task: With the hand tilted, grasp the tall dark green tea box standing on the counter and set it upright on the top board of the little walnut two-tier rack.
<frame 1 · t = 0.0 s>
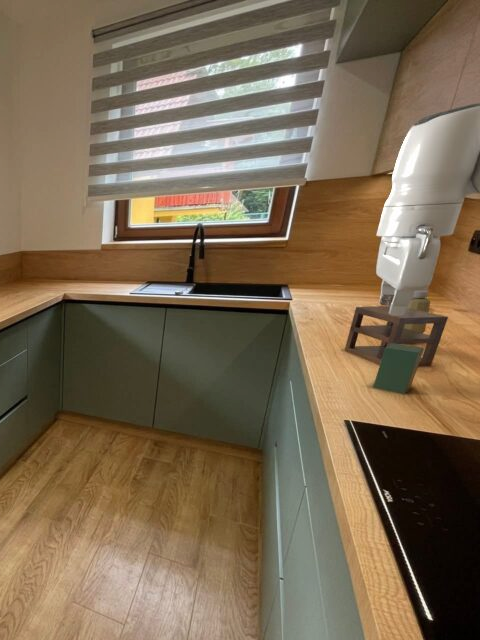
hand: (390, 309, 73), 20 cm above the worktop, tool pointing down, fingers open, 8 cm apart
rack: (384, 357, 110), on the worktop
squeeze bottle: (400, 342, 122), on the worktop
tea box: (391, 387, 92), on the worktop
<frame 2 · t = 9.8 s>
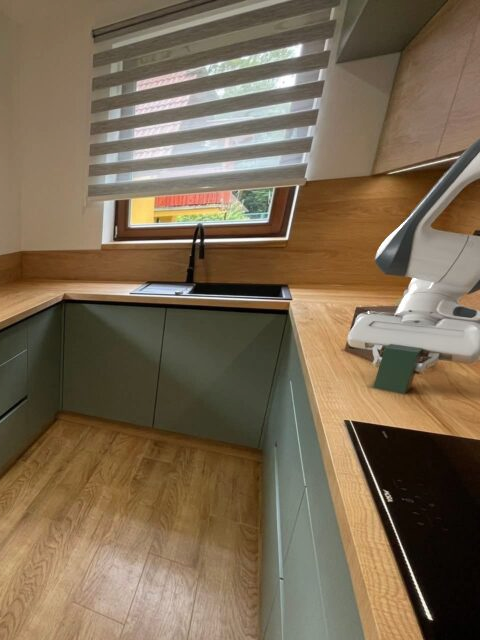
hand: (397, 369, 90), 4 cm above the worktop, tool tilted 45°, fingers closed on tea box, 5 cm apart
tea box: (391, 387, 92), on the worktop, touching gripper
everything else where it was.
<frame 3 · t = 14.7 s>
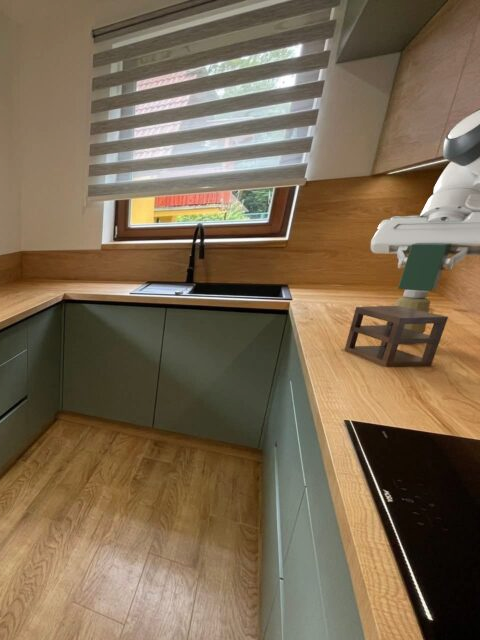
hand: (423, 267, 88), 25 cm above the worktop, tool tilted 45°, fingers closed on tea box, 5 cm apart
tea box: (417, 288, 90), point 20 cm above the worktop, touching gripper
everything else where it was.
when the fingers open (16 cm above the worktop, at t = 19.7 s): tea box stays where it is, resting on rack.
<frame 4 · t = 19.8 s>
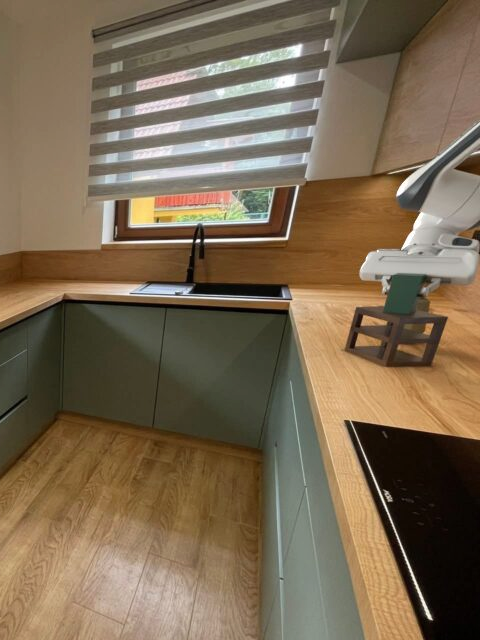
hand: (403, 294, 104), 16 cm above the worktop, tool tilted 45°, fingers open, 5 cm apart
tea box: (398, 311, 105), point 12 cm above the worktop, touching rack
everything else where it was.
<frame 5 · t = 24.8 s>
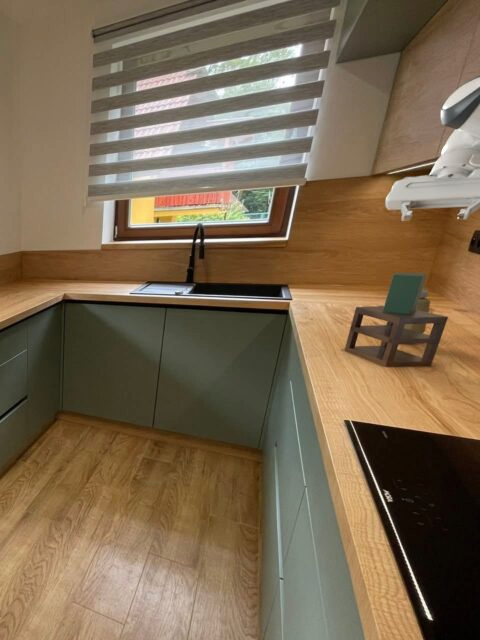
hand: (432, 218, 101), 33 cm above the worktop, tool tilted 45°, fingers open, 8 cm apart
nothing on the worktop moved.
at the end: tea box inside the target area on the rack (0.1 cm from its centre), point 12.0 cm above the rack's base; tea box tilted 0°; the gripper is holding nothing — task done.
